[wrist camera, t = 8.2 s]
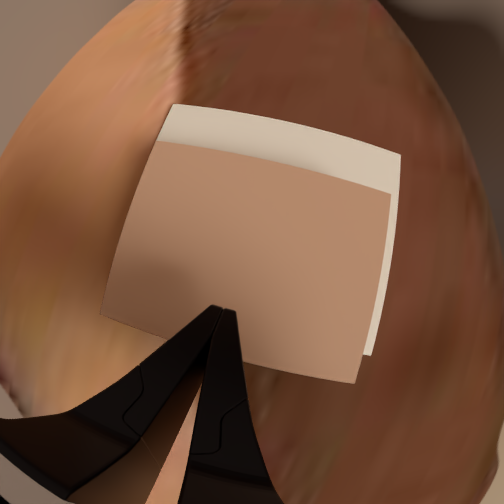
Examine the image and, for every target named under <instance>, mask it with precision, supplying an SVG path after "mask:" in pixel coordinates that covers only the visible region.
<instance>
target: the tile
mask: <svg viewBox="0 0 504 504" xmlns="http://www.w3.org/2000/svg"><path fill="white" fill-rule="evenodd" d="M390 202H391V194H389V193H386V192H383V191H380V190H377V189H374V188H371V187H367V186H364V185H361V184H358V183H354V182H351V181H347V180H344V179H341V178H337V177H333V176H330V175H326V174H322V173H319V172H315V171H311V170H307V169H303V168H299V167H295V166H291V165H287V164H283V163H278V162H274V161H270V160H265V159H261V158H256V157H251V156H246V155H241V154H236V153H231V152H226V151H220V150H215V149H209V148H203V147H197V146H191V145H185V144H178V143H171V142H164V141H156V142H155V144H154V147H153V149H152V151H151V154H150V156H149V159H148V161H147V163H146V166H145V168H144V171H143V173H142V176H141V179H140V181H139V184H138V186H137V189H136V192H135V194H134V197H133V200H132V203H131V206H130V209H129V211H128V214H127V217H126V220H125V223H124V226H123V229H122V233H121V236H120V239H119V242H118V246H117V249H116V252H115V256H114V259H113V263H112V266H111V270H110V274H109V277H108V281H107V285H106V289H105V293H104V297H103V302H102V306H101V310H100V314H101V315H103V316H106V317H108V318H111V319H113V320H116V321H118V322H121V323H123V324H126V325H129V326H131V327H134V328H137V329H140V330H142V331H145V332H148V333H151V334H154V335H157V336H159V337H162V338H165V339H168V340H169V339H170V338H171V337H173V336H174V335H175V334H176V333H177V332H179V331H180V330H181V329H182V328H183V327H185V326H186V325H187V324H188V323H189V322H191V321H192V320H193V319H194V318H195V317H197V316H198V315H199V314H200V313H201V312H202V311H204V310H205V309H206V308H207V307H208V306H210V305H212V304H213V305H217V306H221V307H223V309H224V308H228V309H232V310H235V311H236V312H237V320H238V327H239V335H240V343H241V350H242V357H243V361H244V362H247V363H251V364H256V365H260V366H264V367H268V368H273V369H277V370H282V371H286V372H291V373H296V374H301V375H306V376H311V377H317V378H322V379H328V380H334V381H340V382H346V383H353V384H354V383H355V380H356V377H357V373H358V370H359V366H360V363H361V359H362V355H363V352H364V348H365V344H366V340H367V336H368V332H369V328H370V324H371V319H372V315H373V310H374V306H375V301H376V296H377V291H378V286H379V280H380V275H381V269H382V263H383V257H384V250H385V244H386V236H387V229H388V220H389V212H390Z"/></svg>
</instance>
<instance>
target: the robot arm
mask: <svg viewBox="0 0 504 504" xmlns="http://www.w3.org/2000/svg"><path fill="white" fill-rule="evenodd" d="M139 365H140V366H139ZM139 365H137V366H136V367H135V368H134V369H133V370H131V371H130V372H129V373H128V374H126V375H125V376H124V377H122V378H121V379H120V380H118V381H117V382H115V383H114V384H112V385H111V386H109V387H108V388H106V389H105V390H103V391H102V392H100V393H98V394H97V395H95V396H93V397H92V398H90V399H88V400H87V401H85V402H83V403H82V404H80V405H78V406H77V407H75V408H73V409H71V410H69V411H66V412H63V413H60V414H54V415H47V416H39V417H30V418H19V419H2V418H0V504H145V503H146V501H147V498H148V496H149V494H150V492H151V490H152V488H153V486H154V484H155V482H156V480H157V477H158V475H159V473H160V471H161V469H162V467H163V465H164V463H165V460H166V458H167V456H168V454H169V452H170V450H171V448H172V446H173V443H174V441H175V439H176V437H177V435H178V433H179V431H180V428H181V426H182V424H183V422H184V420H185V418H186V416H187V413H188V411H189V409H190V407H191V405H192V403H193V400H194V398H195V396H196V394H197V392H198V390H199V387H200V385H201V383H202V387H201V392H200V397H199V402H198V407H197V412H196V418H195V423H194V428H193V434H192V439H191V445H190V450H189V456H188V461H187V466H186V471H185V476H184V480H183V484H182V488H181V492H180V496H179V500H178V504H284V503H283V502H282V500H281V499H280V497H279V495H278V494H277V492H276V490H275V488H274V486H273V484H272V482H271V480H270V477H269V474H268V472H267V469H266V466H265V463H264V460H263V457H262V454H261V451H260V448H259V445H258V441H257V438H256V434H255V431H254V427H253V423H252V417H251V412H250V406H249V400H248V393H247V386H246V379H245V372H244V365H243V357H242V350H241V343H240V335H239V327H238V320H237V312H236V311H235V310H232V309H228V308H224V309H223V307H221V306H217V305H213V304H212V305H210V306H208V307H207V308H206V309H205V310H204V311H202V312H201V313H200V314H199V315H198V316H197V317H195V318H194V319H193V320H192V321H191V322H189V323H188V324H187V325H186V326H185V327H183V328H182V329H181V330H180V331H179V332H177V333H176V334H175V335H174V336H173V337H171V338H170V339H169V340H168V341H167V342H165V343H164V344H163V345H162V346H161V347H159V348H158V349H157V350H156V351H155V352H153V353H152V354H151V355H150V356H148V357H147V358H146V359H145V360H144V361H142V362H141V363H140V364H139Z"/></svg>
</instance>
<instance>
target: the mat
mask: <svg viewBox="0 0 504 504" xmlns="http://www.w3.org/2000/svg"><path fill="white" fill-rule="evenodd" d="M156 141H164V142H171V143H178V144H185V145H191V146H197V147H203V148H209V149H215V150H220V151H226V152H231V153H236V154H241V155H246V156H251V157H256V158H261V159H265V160H270V161H274V162H278V163H283V164H287V165H291V166H295V167H299V168H303V169H307V170H311V171H315V172H319V173H322V174H326V175H330V176H333V177H337V178H341V179H344V180H347V181H351V182H354V183H358V184H361V185H364V186H367V187H371V188H374V189H377V190H380V191H383V192H386V193H389V194H391V202H390V212H389V220H388V229H387V236H386V244H385V250H384V257H383V263H382V269H381V275H380V280H379V286H378V291H377V296H376V301H375V306H374V310H373V315H372V319H371V324H370V328H369V332H368V336H367V340H366V344H365V348H364V352H363V354H364V355H370V356H371V354H372V350H373V346H374V342H375V338H376V334H377V330H378V326H379V321H380V317H381V312H382V307H383V303H384V298H385V292H386V287H387V282H388V276H389V270H390V264H391V257H392V250H393V243H394V235H395V227H396V218H397V207H398V196H399V181H400V160H401V155H399V154H397V153H394V152H391V151H388V150H385V149H382V148H380V147H377V146H374V145H371V144H367V143H364V142H361V141H358V140H355V139H352V138H348V137H345V136H341V135H338V134H334V133H331V132H327V131H323V130H320V129H316V128H312V127H308V126H304V125H300V124H295V123H291V122H286V121H282V120H277V119H272V118H268V117H262V116H257V115H252V114H246V113H240V112H234V111H228V110H221V109H214V108H207V107H199V106H190V105H180V104H173V106H172V108H171V110H170V112H169V114H168V116H167V118H166V120H165V122H164V124H163V127H162V129H161V131H160V133H159V136H158V138H157V140H156Z"/></svg>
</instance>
